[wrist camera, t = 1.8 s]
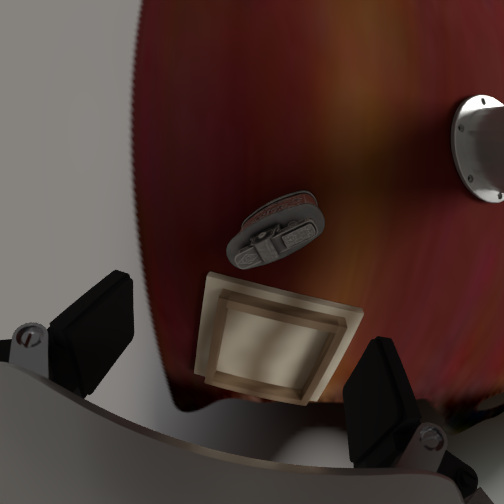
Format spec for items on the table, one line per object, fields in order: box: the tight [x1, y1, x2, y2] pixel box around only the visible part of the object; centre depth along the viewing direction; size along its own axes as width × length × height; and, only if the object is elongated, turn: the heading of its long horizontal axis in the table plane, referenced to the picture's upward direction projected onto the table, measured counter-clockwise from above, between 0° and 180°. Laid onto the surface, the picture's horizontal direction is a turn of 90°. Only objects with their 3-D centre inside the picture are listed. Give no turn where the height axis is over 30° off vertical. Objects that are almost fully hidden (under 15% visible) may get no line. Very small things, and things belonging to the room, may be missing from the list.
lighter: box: [226, 190, 325, 269], centre depth 23 cm, size 8×3×10 cm, turn 119°
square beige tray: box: [194, 271, 364, 406], centre depth 32 cm, size 18×16×3 cm
